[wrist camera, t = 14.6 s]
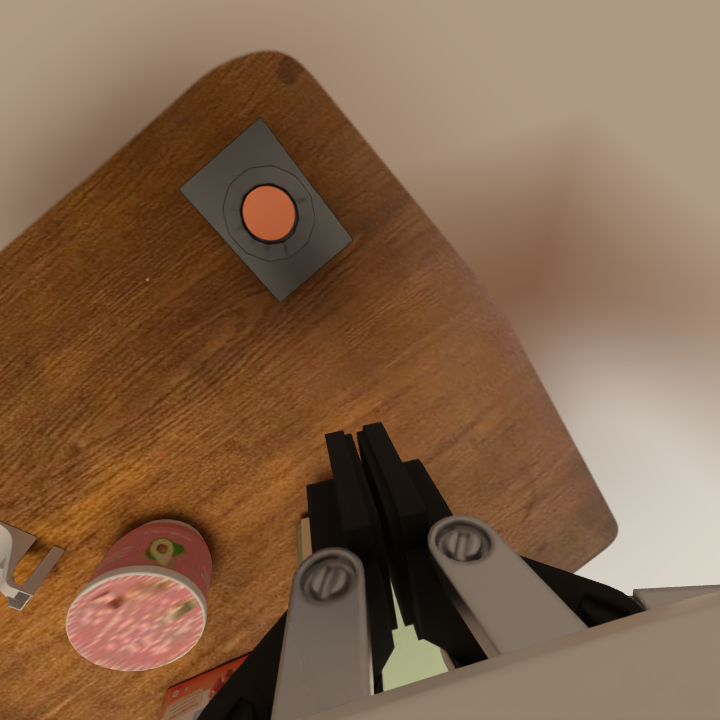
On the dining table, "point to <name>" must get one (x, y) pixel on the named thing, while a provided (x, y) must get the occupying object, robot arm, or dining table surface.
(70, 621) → the container
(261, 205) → the button
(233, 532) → the dining table surface
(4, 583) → the skate ramp
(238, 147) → the button box
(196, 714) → the cracker box
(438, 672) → the cabinet
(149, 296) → the dining table surface
